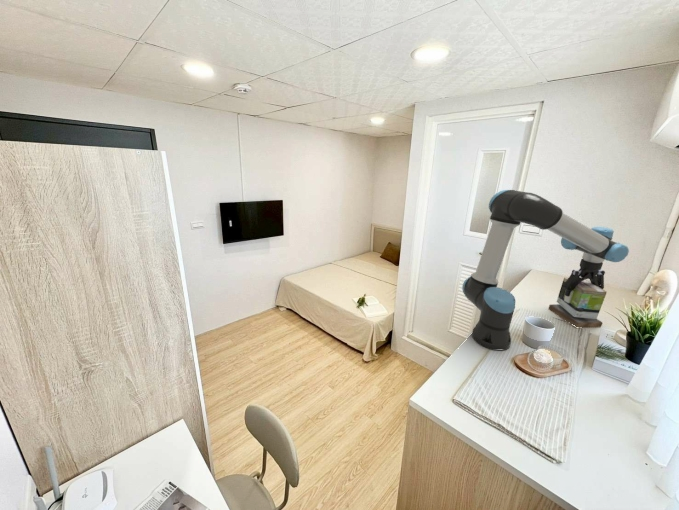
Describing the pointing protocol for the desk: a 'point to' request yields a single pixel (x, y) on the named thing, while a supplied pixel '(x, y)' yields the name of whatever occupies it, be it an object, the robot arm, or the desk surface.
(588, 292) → the tea box
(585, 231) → the robot arm
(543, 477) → the desk surface
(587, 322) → the plate
